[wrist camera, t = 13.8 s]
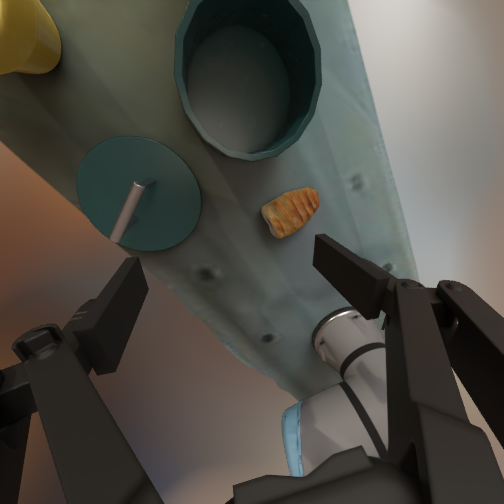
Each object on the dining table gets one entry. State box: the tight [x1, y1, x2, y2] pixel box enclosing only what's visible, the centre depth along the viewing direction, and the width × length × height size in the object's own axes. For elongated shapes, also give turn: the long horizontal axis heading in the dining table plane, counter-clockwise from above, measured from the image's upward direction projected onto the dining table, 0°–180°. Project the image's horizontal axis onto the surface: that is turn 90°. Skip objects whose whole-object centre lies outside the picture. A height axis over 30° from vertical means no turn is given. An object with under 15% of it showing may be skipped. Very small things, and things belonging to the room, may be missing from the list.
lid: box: [77, 136, 201, 251], centre depth 26 cm, size 15×15×9 cm
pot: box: [174, 0, 322, 162], centre depth 24 cm, size 14×14×8 cm
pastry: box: [261, 187, 319, 239], centre depth 33 cm, size 9×7×4 cm
